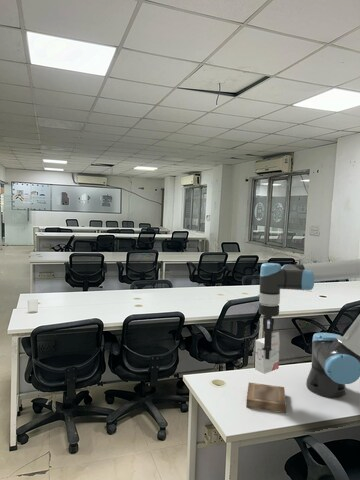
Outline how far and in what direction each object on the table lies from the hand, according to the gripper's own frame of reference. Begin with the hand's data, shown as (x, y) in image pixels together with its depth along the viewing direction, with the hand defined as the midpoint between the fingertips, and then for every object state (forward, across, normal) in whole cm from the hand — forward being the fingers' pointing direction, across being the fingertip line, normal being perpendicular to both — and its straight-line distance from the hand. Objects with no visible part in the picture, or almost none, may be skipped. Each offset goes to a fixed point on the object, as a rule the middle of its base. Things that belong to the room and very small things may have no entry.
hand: (266, 361), depth 134 cm
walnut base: (+15, 0, 0) cm, 15 cm away
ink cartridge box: (+3, 0, 0) cm, 3 cm away
